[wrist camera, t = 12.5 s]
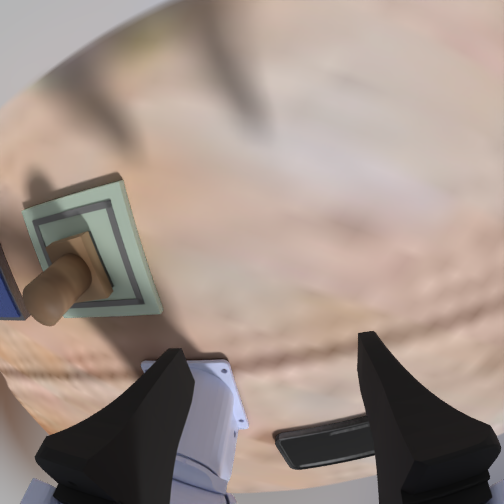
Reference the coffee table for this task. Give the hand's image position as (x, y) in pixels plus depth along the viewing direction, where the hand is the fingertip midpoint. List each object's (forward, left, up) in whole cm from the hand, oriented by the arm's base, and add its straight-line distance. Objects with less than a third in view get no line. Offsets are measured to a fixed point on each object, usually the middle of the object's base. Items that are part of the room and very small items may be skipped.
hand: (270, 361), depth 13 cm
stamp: (+2, +14, -9) cm, 17 cm away
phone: (-22, -5, -10) cm, 25 cm away
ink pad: (+1, +28, -9) cm, 30 cm away
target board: (+2, +14, -9) cm, 17 cm away
